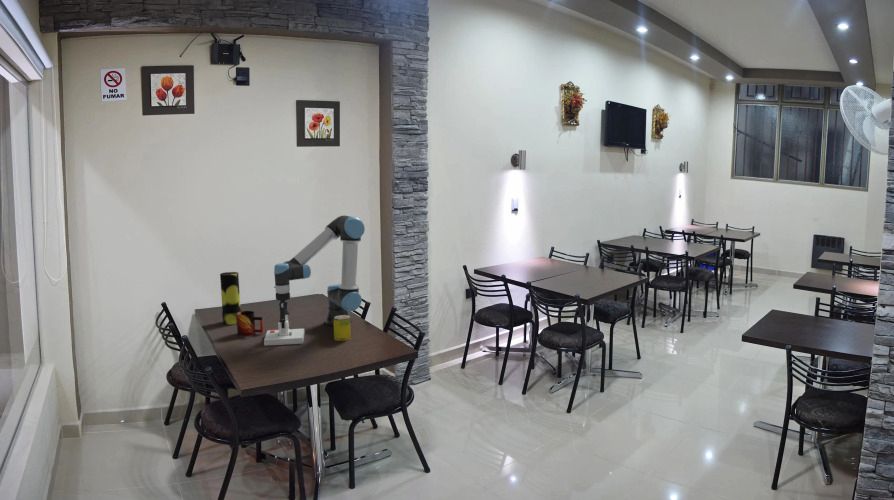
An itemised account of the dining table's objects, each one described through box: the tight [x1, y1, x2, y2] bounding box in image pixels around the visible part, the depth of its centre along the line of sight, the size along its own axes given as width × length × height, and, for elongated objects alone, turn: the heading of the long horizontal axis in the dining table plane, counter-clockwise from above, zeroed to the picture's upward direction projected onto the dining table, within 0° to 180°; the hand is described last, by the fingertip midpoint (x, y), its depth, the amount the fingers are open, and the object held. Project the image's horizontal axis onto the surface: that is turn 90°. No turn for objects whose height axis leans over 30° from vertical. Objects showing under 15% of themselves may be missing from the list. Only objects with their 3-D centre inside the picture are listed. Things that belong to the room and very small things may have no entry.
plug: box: [278, 320, 290, 336], centre depth 337 cm, size 5×4×10 cm
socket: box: [263, 328, 305, 347], centre depth 338 cm, size 20×18×4 cm
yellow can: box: [333, 315, 352, 342], centre depth 339 cm, size 9×9×12 cm
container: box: [219, 271, 242, 326], centre depth 370 cm, size 11×11×30 cm
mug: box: [236, 310, 264, 337], centre depth 349 cm, size 10×14×12 cm
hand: (284, 330), depth 337 cm, fingers open, 13 cm apart
